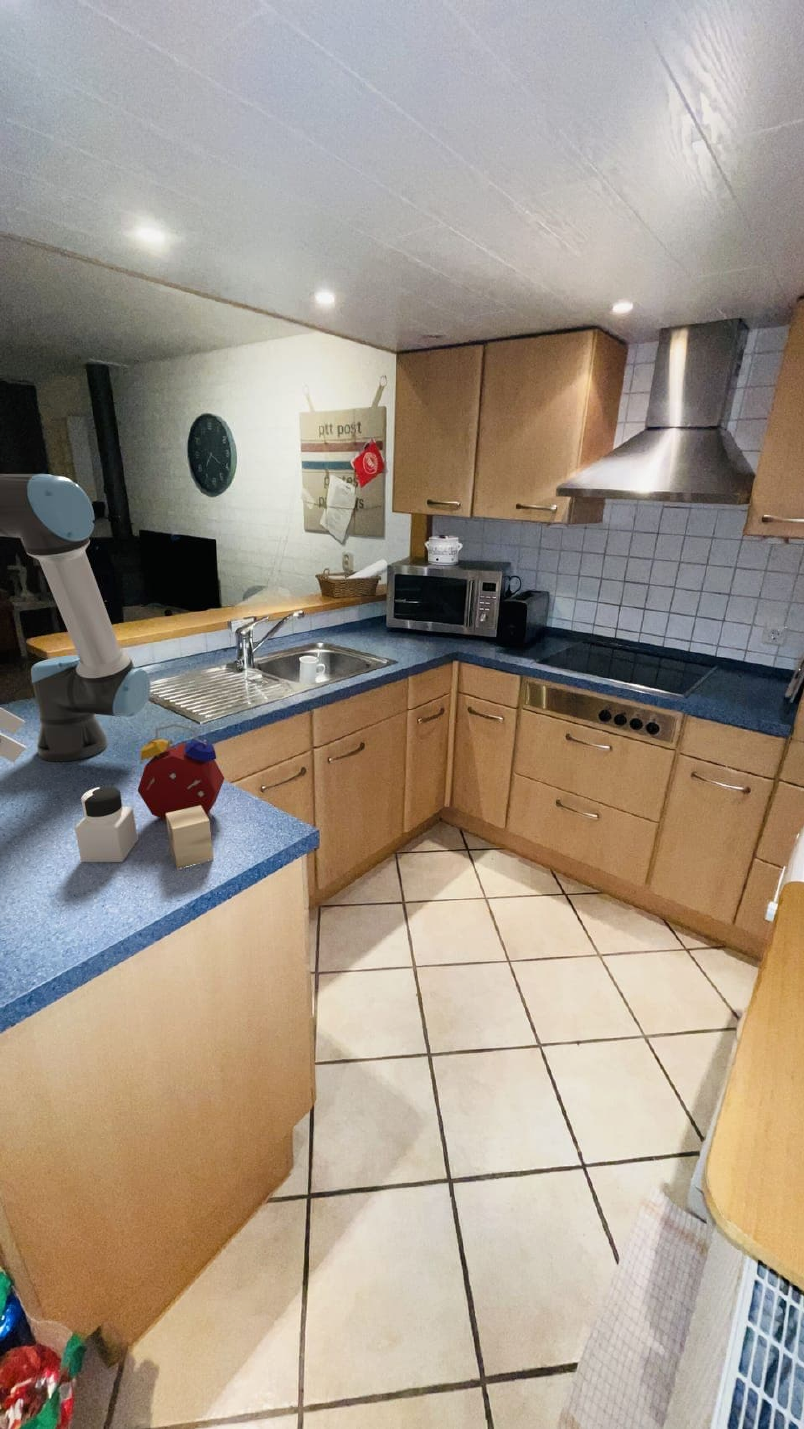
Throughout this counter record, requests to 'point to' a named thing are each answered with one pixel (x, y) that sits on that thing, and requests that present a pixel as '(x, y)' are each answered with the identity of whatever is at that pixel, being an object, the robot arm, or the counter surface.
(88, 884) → the counter surface
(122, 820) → the medicine bottle
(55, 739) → the robot arm
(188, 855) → the beech block
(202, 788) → the alarm clock
